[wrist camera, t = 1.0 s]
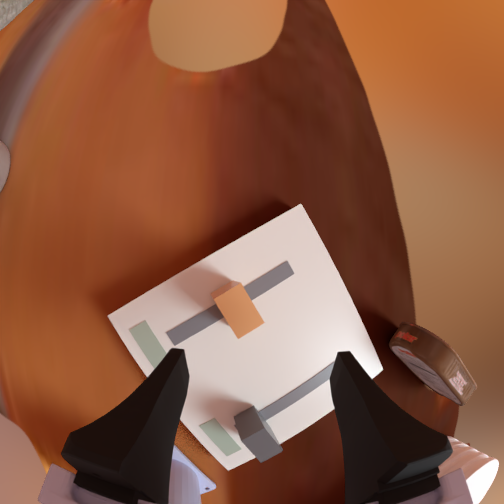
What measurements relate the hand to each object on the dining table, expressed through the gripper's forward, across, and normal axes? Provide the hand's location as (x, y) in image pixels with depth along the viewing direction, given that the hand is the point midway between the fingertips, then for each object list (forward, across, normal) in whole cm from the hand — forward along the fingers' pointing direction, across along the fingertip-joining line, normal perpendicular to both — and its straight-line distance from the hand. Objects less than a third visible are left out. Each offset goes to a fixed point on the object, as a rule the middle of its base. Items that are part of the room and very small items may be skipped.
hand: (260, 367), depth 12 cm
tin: (+11, -18, +12) cm, 25 cm away
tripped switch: (+8, +2, +2) cm, 9 cm away
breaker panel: (+9, 0, +7) cm, 11 cm away
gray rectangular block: (+4, 0, +12) cm, 12 cm away
